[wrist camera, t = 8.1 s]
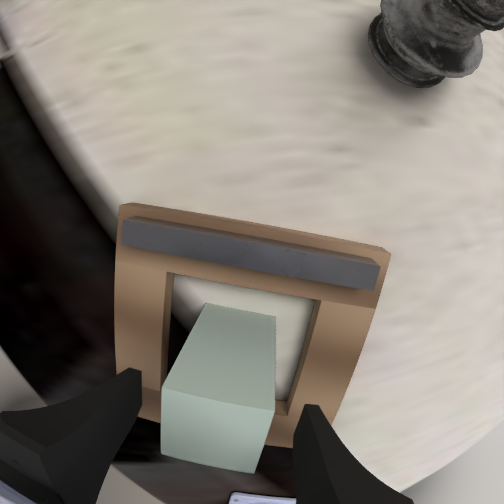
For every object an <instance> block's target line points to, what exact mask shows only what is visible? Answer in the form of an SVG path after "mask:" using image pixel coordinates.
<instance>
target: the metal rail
mask: <svg viewBox="0 0 504 504" xmlns="http://www.w3.org/2000/svg"><path fill="white" fill-rule="evenodd" d="M121 245H126V246H131V247H136V248H141V249H146V250H151V251H156V252H161V253H166V254H171V255H177V256H182V257H187V258H192V259H197V260H203V261H208V262H213V263H218V264H224V265H229V266H234V267H240V268H245V269H251V270H256V271H262V272H267V273H273V274H278V275H284V276H289V277H295V278H301V279H306V280H312V281H318V282H323V283H329V284H335V285H341V286H347V287H352V288H358V289H364V290H370V291H374V289H375V286H376V282H377V278H378V275H379V271H380V267H381V266H380V265H379V264H377V263H376V262H375V261H374V260H373V259H372V258H368V257H363V256H358V255H353V254H347V253H342V252H337V251H332V250H327V249H321V248H316V247H311V246H305V245H300V244H295V243H289V242H284V241H278V240H273V239H267V238H262V237H257V236H251V235H245V234H240V233H234V232H229V231H223V230H217V229H212V228H206V227H200V226H195V225H189V224H183V223H177V222H171V221H165V220H160V219H154V218H148V217H142V216H132V217H129V218H126V219H123V222H122V234H121Z"/></svg>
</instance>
